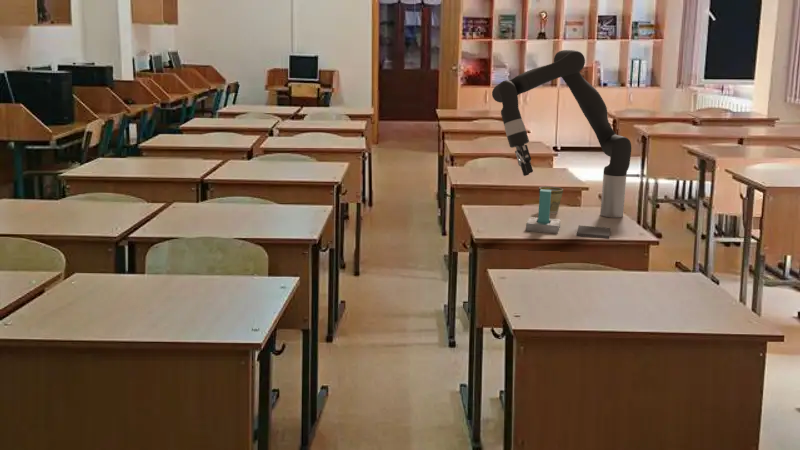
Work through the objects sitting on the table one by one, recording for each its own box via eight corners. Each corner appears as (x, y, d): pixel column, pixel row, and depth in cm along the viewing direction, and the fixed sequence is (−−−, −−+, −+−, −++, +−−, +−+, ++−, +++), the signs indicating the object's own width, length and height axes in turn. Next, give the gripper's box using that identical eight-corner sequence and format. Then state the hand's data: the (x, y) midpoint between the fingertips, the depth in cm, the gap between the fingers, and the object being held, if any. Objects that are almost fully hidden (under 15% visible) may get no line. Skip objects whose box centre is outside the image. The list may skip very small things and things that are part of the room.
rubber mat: (578, 227, 362) (578, 225, 362) (610, 230, 359) (610, 227, 359) (576, 235, 348) (576, 233, 348) (609, 238, 346) (609, 235, 346)
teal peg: (538, 227, 360) (540, 189, 357) (548, 228, 359) (551, 190, 356) (537, 229, 357) (539, 191, 353) (547, 230, 356) (550, 191, 352)
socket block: (529, 224, 365) (529, 216, 364) (560, 226, 362) (560, 219, 362) (525, 230, 354) (526, 223, 353) (557, 233, 351) (558, 225, 350)
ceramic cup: (557, 215, 383) (559, 191, 381) (534, 212, 388) (535, 189, 385) (566, 210, 395) (568, 186, 393) (543, 207, 399) (545, 184, 397)
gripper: (528, 127, 346) (541, 169, 345) (522, 133, 360) (534, 173, 360) (509, 132, 346) (521, 174, 345) (504, 138, 360) (516, 178, 359)
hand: (528, 174), depth 352 cm, fingers open, 8 cm apart
